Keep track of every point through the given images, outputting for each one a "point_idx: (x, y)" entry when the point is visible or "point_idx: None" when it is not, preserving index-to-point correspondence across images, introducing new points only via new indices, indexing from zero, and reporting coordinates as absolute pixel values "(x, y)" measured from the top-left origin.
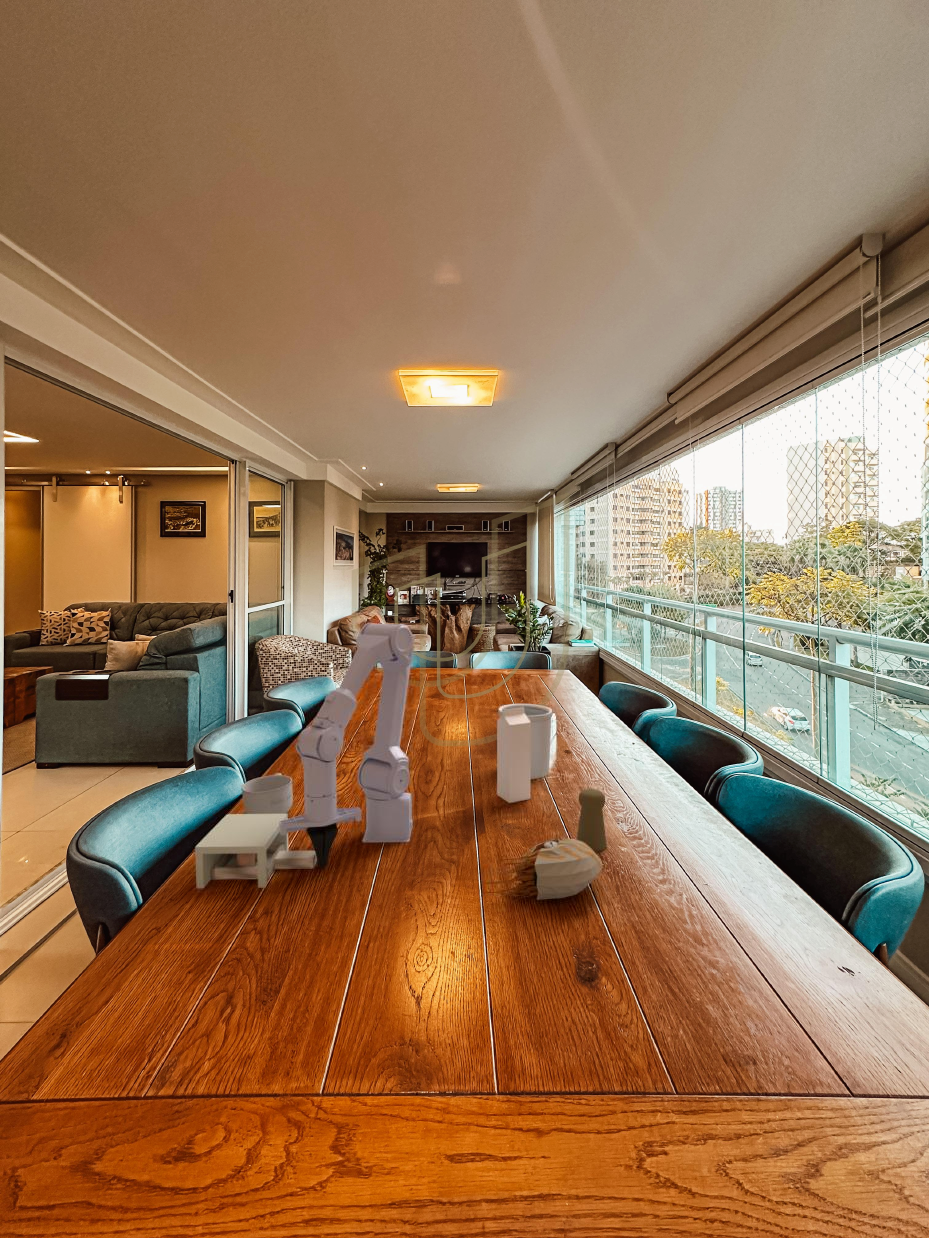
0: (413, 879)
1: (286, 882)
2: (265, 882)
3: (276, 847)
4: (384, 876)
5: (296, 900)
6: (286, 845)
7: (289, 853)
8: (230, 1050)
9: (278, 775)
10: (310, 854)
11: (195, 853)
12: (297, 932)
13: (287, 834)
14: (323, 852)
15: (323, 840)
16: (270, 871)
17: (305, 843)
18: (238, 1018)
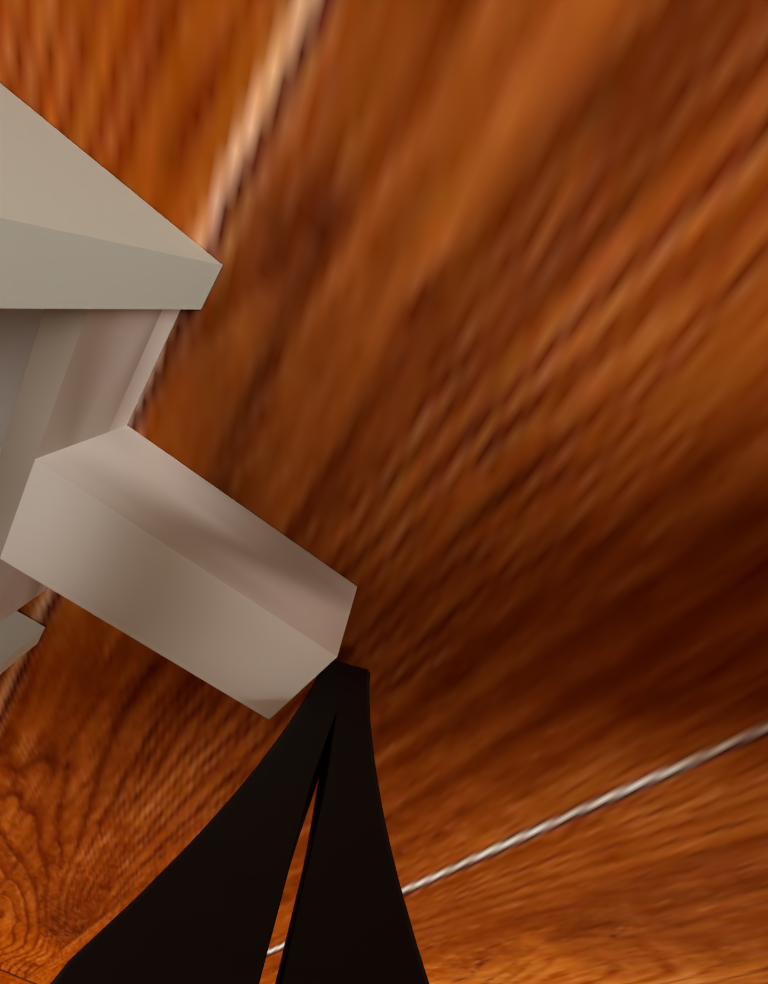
0: (617, 921)
1: (141, 648)
2: (2, 670)
3: None
4: (549, 858)
5: (161, 769)
6: (139, 303)
7: (120, 560)
8: (7, 949)
9: None
10: (270, 671)
11: None
12: (138, 864)
13: (48, 266)
14: (314, 814)
15: (282, 957)
16: (24, 588)
17: (440, 158)
18: (11, 927)
